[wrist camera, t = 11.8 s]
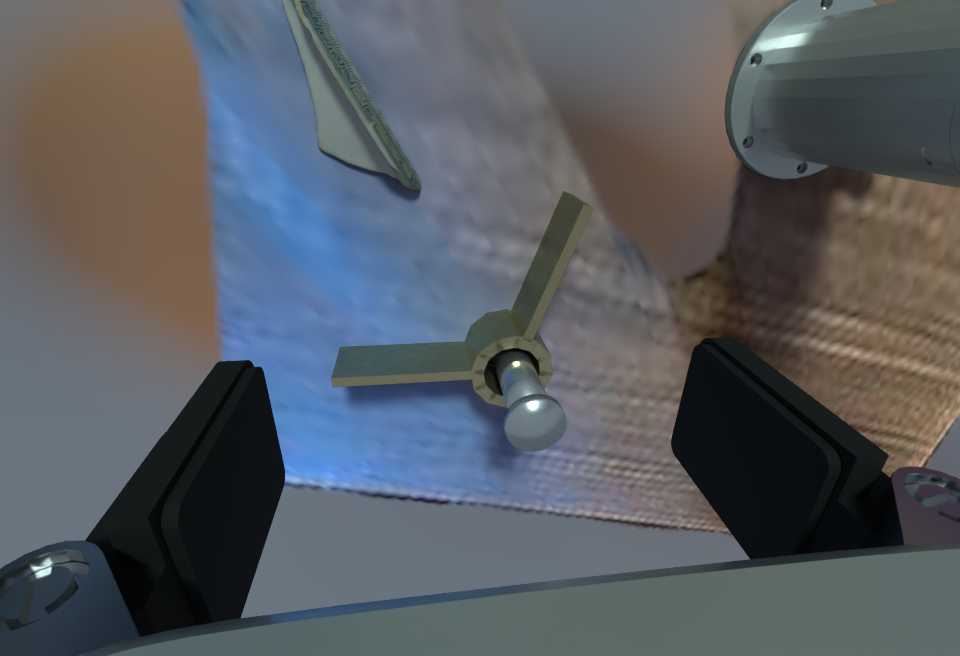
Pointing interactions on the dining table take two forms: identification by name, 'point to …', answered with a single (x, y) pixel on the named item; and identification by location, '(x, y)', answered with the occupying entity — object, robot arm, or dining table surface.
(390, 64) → the dining table surface
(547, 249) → the brass hinge
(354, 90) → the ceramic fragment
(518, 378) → the hinge pin
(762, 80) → the robot arm
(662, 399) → the dining table surface
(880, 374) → the dining table surface
